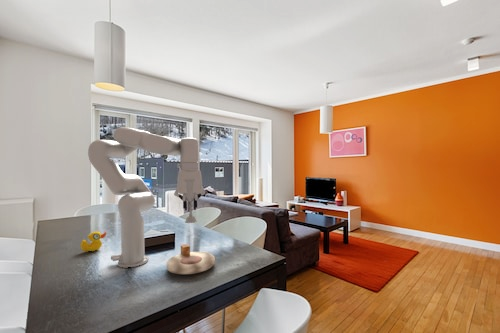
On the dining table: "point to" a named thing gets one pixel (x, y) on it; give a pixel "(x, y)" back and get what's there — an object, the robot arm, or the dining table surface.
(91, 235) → the duckling
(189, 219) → the chalice
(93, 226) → the dining table surface
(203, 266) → the turntable
